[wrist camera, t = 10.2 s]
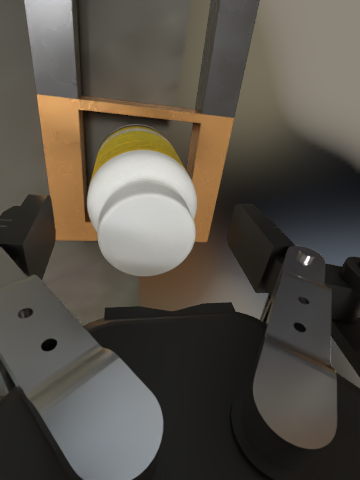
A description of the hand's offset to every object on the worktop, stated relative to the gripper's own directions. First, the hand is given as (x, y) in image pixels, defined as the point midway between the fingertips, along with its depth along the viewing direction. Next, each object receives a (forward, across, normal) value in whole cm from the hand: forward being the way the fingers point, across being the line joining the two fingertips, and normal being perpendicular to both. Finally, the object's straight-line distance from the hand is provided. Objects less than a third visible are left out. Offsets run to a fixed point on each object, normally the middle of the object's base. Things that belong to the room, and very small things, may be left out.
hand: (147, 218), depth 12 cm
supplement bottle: (+8, 0, 0) cm, 9 cm away
